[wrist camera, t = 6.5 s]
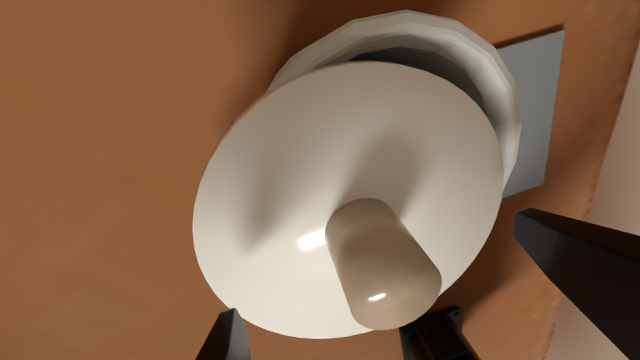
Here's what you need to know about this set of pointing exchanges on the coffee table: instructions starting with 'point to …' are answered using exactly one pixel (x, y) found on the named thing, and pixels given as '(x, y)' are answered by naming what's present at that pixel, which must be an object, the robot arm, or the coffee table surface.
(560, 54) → the mat
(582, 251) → the robot arm
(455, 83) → the mug
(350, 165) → the lid
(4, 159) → the coffee table surface
